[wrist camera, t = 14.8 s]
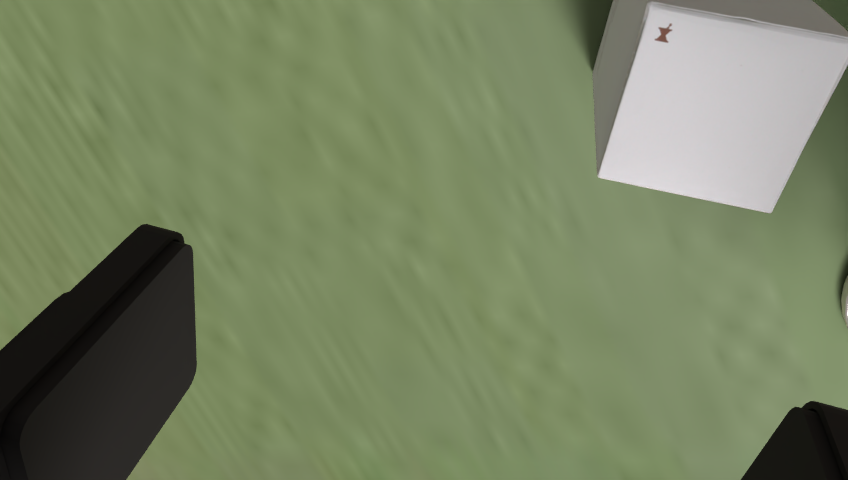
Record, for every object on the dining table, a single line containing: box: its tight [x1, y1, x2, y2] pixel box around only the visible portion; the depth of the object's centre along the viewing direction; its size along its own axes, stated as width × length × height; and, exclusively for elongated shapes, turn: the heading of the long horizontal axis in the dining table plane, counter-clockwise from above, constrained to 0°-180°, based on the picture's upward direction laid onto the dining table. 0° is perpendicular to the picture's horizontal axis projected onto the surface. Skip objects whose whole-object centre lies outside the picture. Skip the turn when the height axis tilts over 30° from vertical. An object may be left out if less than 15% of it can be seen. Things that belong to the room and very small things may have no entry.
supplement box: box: [593, 0, 848, 213], centre depth 30 cm, size 7×7×13 cm
